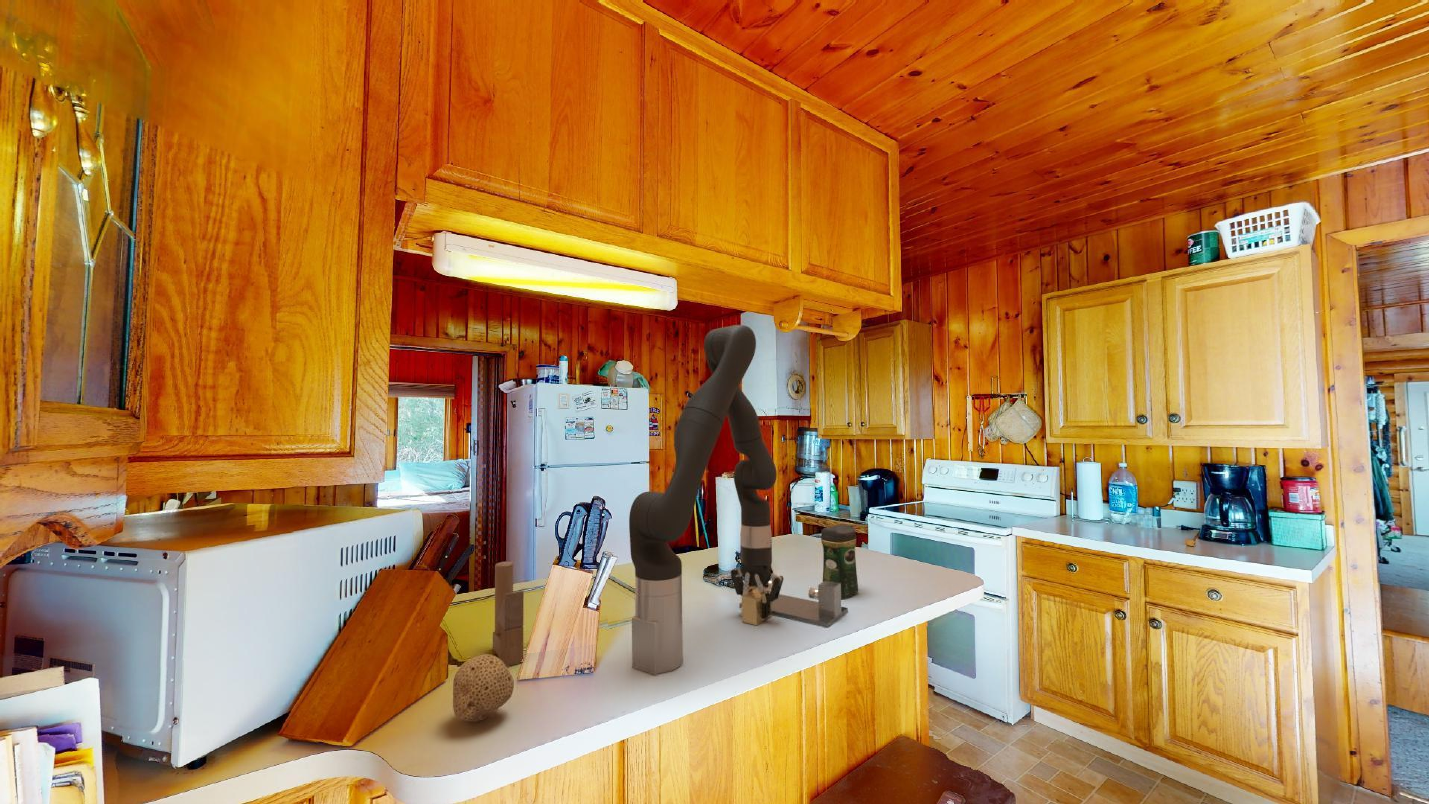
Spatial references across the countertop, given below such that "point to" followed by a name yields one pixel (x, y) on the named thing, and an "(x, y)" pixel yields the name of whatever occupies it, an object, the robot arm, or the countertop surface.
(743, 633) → the countertop surface
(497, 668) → the natural sponge
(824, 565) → the coffee jar
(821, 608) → the stand
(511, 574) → the wooden block
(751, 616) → the block
